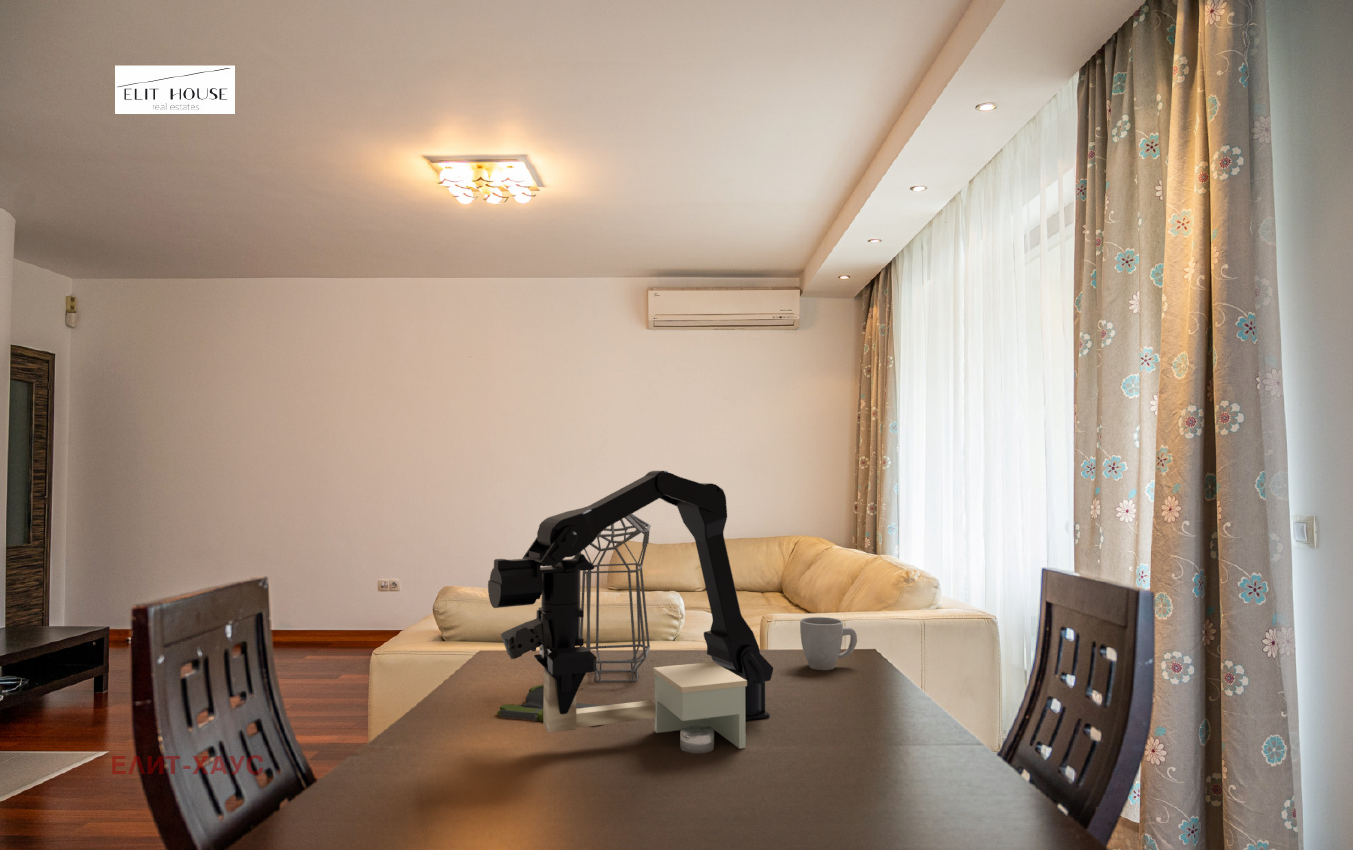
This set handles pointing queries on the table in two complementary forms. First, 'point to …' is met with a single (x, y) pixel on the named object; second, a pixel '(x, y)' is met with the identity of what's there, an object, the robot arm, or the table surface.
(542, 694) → the gun
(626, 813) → the table surface
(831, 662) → the mug
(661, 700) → the pale green stool
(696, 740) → the cylinder
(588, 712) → the wooden l-shaped block
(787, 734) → the table surface
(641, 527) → the geometric lantern
